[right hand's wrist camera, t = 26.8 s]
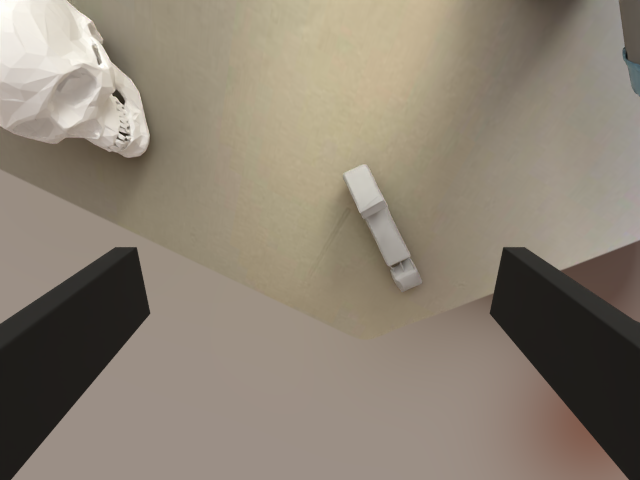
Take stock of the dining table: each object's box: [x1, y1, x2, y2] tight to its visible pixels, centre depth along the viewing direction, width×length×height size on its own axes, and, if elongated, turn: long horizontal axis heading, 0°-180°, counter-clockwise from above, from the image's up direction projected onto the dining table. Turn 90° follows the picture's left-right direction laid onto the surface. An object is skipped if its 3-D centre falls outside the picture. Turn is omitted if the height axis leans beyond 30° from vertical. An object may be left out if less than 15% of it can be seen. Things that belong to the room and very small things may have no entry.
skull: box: [0, 0, 150, 158], centre depth 36 cm, size 13×22×16 cm, turn 39°
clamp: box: [343, 164, 422, 292], centre depth 47 cm, size 20×4×7 cm, turn 28°
